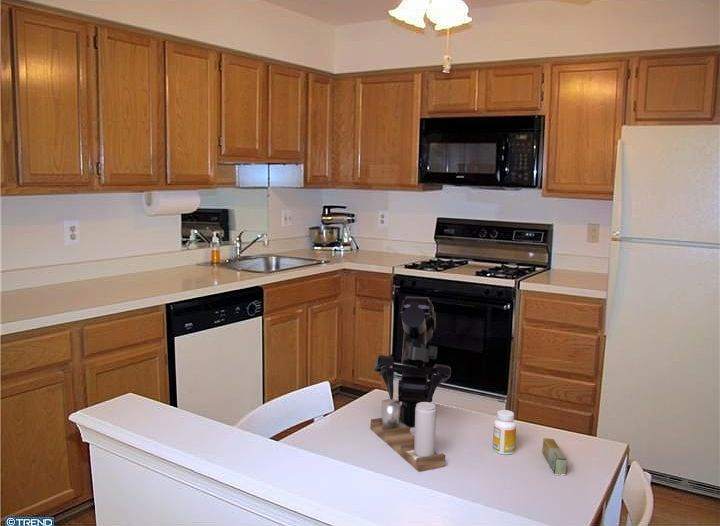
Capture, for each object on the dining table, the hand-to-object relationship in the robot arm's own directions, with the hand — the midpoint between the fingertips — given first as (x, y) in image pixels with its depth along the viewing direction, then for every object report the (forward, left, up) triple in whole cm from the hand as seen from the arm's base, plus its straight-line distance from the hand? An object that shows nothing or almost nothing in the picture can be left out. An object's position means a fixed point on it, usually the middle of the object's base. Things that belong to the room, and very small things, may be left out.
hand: (409, 402), depth 155 cm
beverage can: (0, +8, -10) cm, 13 cm away
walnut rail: (+1, 0, -12) cm, 12 cm away
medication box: (-28, +21, -12) cm, 37 cm away
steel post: (+1, -9, -10) cm, 14 cm away
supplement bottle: (-21, +11, -12) cm, 26 cm away
